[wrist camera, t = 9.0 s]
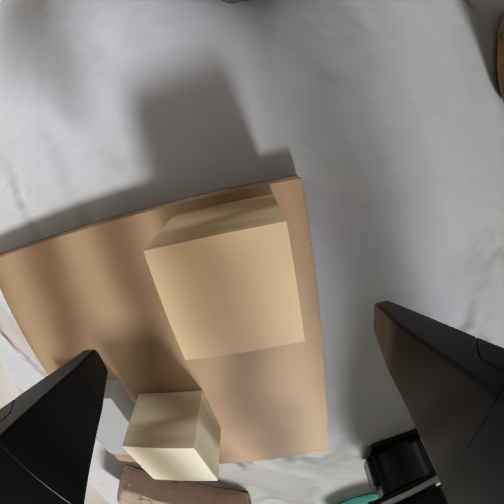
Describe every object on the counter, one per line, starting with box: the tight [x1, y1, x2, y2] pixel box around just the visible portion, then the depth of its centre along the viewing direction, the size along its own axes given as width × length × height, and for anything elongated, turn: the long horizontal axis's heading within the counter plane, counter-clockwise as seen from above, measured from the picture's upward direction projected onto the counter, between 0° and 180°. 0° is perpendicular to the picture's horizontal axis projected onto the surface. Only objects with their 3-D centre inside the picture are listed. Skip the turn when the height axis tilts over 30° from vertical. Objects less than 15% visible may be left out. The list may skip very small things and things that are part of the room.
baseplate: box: [0, 175, 329, 464], centre depth 20 cm, size 22×24×1 cm
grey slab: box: [96, 379, 135, 455], centre depth 19 cm, size 5×8×2 cm, turn 11°
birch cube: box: [122, 390, 221, 481], centre depth 18 cm, size 5×5×5 cm
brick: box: [117, 465, 251, 504], centre depth 27 cm, size 16×8×5 cm, turn 68°
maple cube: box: [144, 194, 305, 360], centre depth 13 cm, size 5×5×5 cm
